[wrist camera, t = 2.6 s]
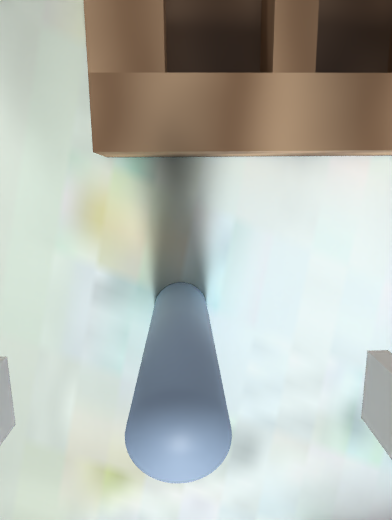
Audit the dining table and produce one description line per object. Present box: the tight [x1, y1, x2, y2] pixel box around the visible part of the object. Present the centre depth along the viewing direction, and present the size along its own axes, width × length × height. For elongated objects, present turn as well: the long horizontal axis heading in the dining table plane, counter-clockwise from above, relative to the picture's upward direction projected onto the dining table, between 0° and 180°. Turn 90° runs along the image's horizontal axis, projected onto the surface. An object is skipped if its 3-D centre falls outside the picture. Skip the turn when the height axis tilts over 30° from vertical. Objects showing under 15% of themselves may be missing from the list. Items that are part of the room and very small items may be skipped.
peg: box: [125, 282, 232, 483], centre depth 17 cm, size 3×3×12 cm
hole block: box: [84, 0, 392, 157], centre depth 18 cm, size 26×12×3 cm, turn 90°
